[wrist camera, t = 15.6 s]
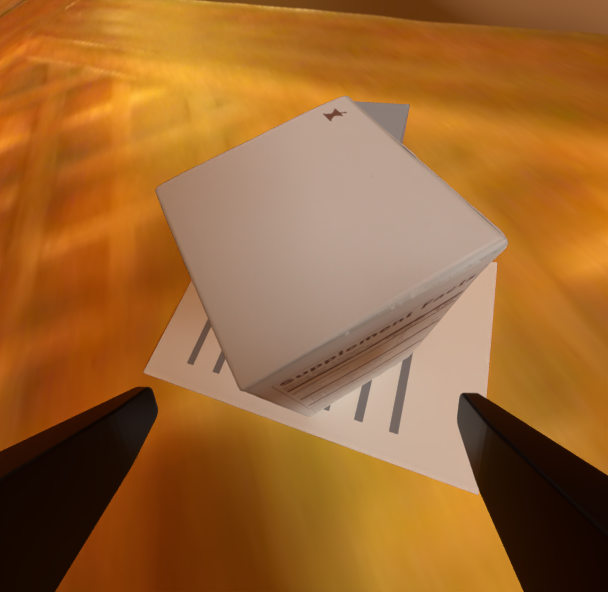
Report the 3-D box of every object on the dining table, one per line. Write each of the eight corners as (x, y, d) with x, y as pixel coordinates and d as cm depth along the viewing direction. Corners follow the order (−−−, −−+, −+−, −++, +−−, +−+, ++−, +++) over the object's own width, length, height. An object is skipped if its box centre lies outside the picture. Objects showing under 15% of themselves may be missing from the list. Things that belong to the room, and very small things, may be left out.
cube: (387, 207, 24) (396, 154, 19) (327, 198, 25) (322, 146, 20) (399, 162, 25) (409, 104, 21) (342, 156, 27) (341, 100, 22)
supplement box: (257, 321, 20) (145, 180, 9) (349, 271, 21) (350, 83, 10) (307, 422, 17) (230, 399, 6) (413, 360, 18) (525, 233, 7)
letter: (476, 494, 15) (478, 495, 15) (144, 373, 20) (142, 372, 20) (496, 264, 20) (497, 262, 20) (227, 215, 25) (226, 213, 25)
